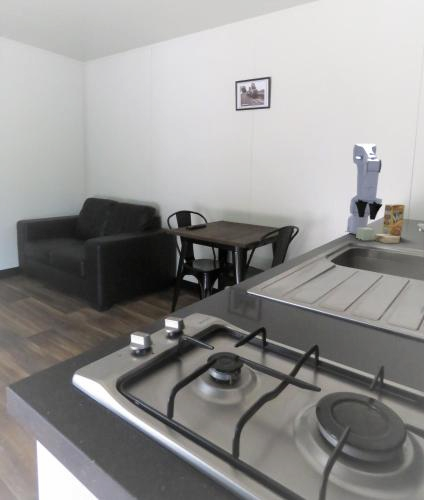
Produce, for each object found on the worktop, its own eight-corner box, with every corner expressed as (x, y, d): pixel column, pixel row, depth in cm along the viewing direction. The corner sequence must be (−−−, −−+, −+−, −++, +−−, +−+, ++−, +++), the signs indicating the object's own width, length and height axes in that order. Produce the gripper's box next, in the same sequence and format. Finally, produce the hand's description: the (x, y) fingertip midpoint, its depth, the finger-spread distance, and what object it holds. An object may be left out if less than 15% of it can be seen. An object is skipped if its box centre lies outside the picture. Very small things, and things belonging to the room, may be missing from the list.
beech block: (374, 240, 168) (375, 234, 167) (387, 240, 170) (388, 234, 169) (385, 244, 161) (385, 237, 161) (398, 243, 163) (399, 236, 162)
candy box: (388, 238, 173) (393, 205, 170) (381, 236, 177) (384, 204, 174) (401, 237, 177) (405, 204, 174) (393, 235, 181) (397, 203, 178)
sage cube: (356, 238, 171) (357, 227, 170) (365, 238, 173) (366, 227, 172) (363, 240, 167) (364, 229, 166) (372, 240, 168) (373, 229, 167)
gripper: (352, 186, 171) (349, 216, 174) (373, 188, 157) (369, 220, 160) (365, 186, 173) (362, 216, 175) (387, 188, 159) (383, 220, 162)
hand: (366, 218), depth 168 cm, fingers open, 7 cm apart
